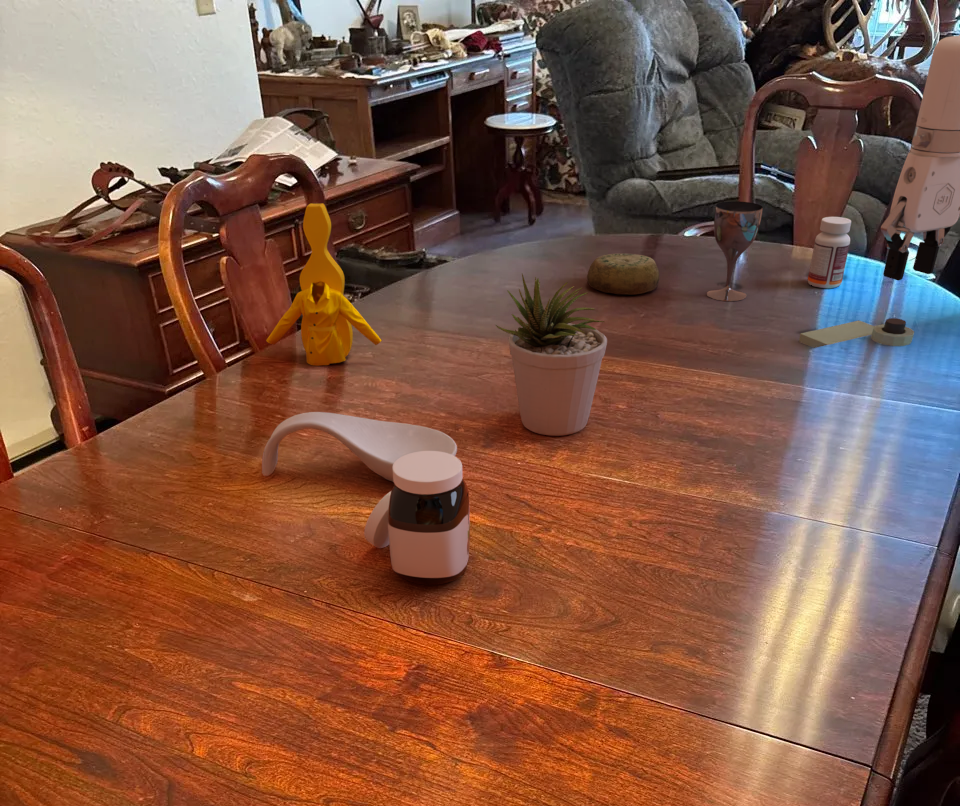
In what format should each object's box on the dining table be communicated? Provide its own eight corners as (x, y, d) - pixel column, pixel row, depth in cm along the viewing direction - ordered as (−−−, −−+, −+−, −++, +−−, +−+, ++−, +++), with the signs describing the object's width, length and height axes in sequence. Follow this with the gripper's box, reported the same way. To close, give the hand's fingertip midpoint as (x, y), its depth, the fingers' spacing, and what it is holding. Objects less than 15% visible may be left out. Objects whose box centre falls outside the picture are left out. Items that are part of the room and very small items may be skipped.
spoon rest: (459, 452, 122) (458, 398, 117) (455, 495, 112) (454, 439, 108) (275, 451, 122) (267, 397, 118) (255, 494, 113) (246, 438, 108)
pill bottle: (839, 280, 180) (852, 216, 173) (842, 290, 175) (856, 224, 169) (805, 278, 181) (817, 215, 174) (808, 288, 176) (820, 223, 169)
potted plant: (522, 398, 136) (525, 251, 124) (614, 414, 131) (626, 263, 119) (483, 431, 126) (482, 276, 115) (581, 450, 122) (590, 290, 110)
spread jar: (458, 597, 95) (456, 492, 88) (349, 587, 96) (338, 483, 90) (480, 537, 104) (478, 438, 97) (379, 528, 106) (371, 431, 99)
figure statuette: (266, 367, 146) (244, 213, 133) (277, 349, 152) (257, 201, 139) (381, 368, 145) (370, 214, 132) (388, 350, 152) (378, 201, 139)
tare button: (892, 328, 150) (895, 316, 149) (907, 333, 148) (910, 322, 147) (878, 331, 149) (881, 320, 148) (893, 336, 147) (896, 325, 146)
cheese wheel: (619, 271, 186) (621, 244, 183) (674, 286, 178) (677, 258, 175) (571, 285, 179) (573, 258, 176) (626, 301, 171) (629, 273, 168)
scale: (856, 328, 158) (861, 310, 156) (917, 351, 149) (922, 332, 148) (798, 342, 153) (801, 323, 151) (857, 366, 144) (861, 346, 143)
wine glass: (704, 287, 177) (715, 200, 168) (748, 289, 176) (762, 202, 167) (703, 300, 171) (715, 210, 162) (749, 302, 170) (763, 212, 161)
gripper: (919, 151, 127) (886, 290, 138) (1005, 139, 133) (967, 272, 144) (876, 142, 132) (847, 277, 143) (960, 132, 139) (926, 261, 150)
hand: (907, 273), depth 143 cm, fingers open, 5 cm apart
